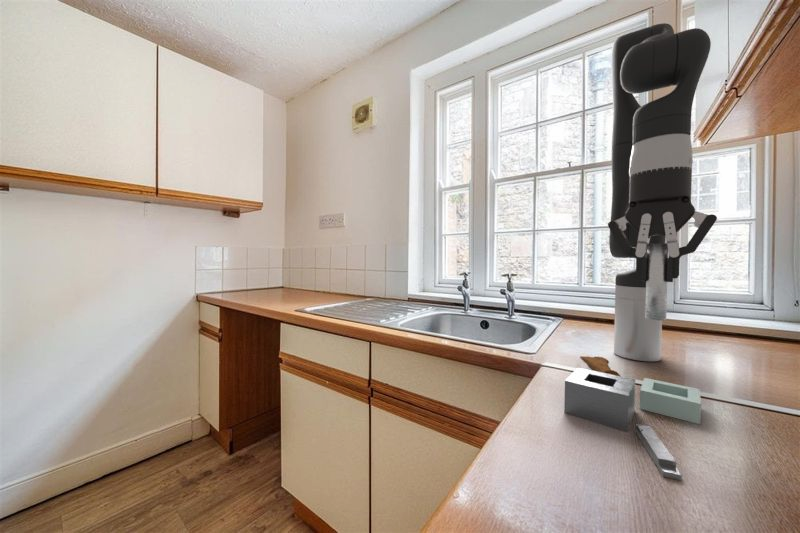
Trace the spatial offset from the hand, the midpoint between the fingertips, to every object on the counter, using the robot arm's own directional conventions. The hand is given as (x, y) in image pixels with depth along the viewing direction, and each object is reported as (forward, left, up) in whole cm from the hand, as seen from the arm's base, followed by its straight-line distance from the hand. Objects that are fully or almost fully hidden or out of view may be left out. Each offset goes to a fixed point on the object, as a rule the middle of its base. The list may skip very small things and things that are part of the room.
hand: (656, 280), depth 50 cm
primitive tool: (-14, -10, -21) cm, 27 cm away
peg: (0, 0, -6) cm, 6 cm away
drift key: (+15, +1, -20) cm, 25 cm away
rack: (-1, +2, -20) cm, 21 cm away
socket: (+8, -6, -20) cm, 23 cm away
